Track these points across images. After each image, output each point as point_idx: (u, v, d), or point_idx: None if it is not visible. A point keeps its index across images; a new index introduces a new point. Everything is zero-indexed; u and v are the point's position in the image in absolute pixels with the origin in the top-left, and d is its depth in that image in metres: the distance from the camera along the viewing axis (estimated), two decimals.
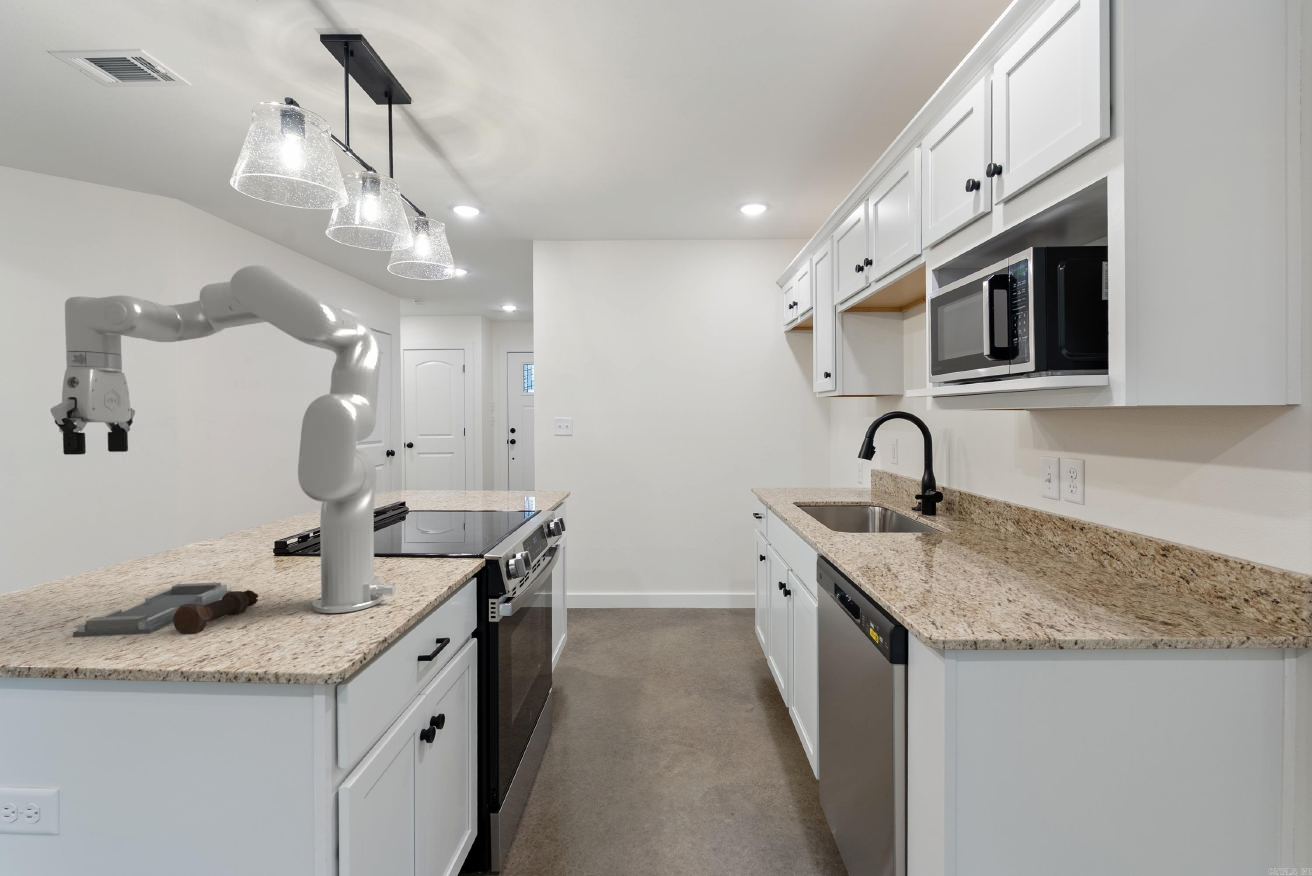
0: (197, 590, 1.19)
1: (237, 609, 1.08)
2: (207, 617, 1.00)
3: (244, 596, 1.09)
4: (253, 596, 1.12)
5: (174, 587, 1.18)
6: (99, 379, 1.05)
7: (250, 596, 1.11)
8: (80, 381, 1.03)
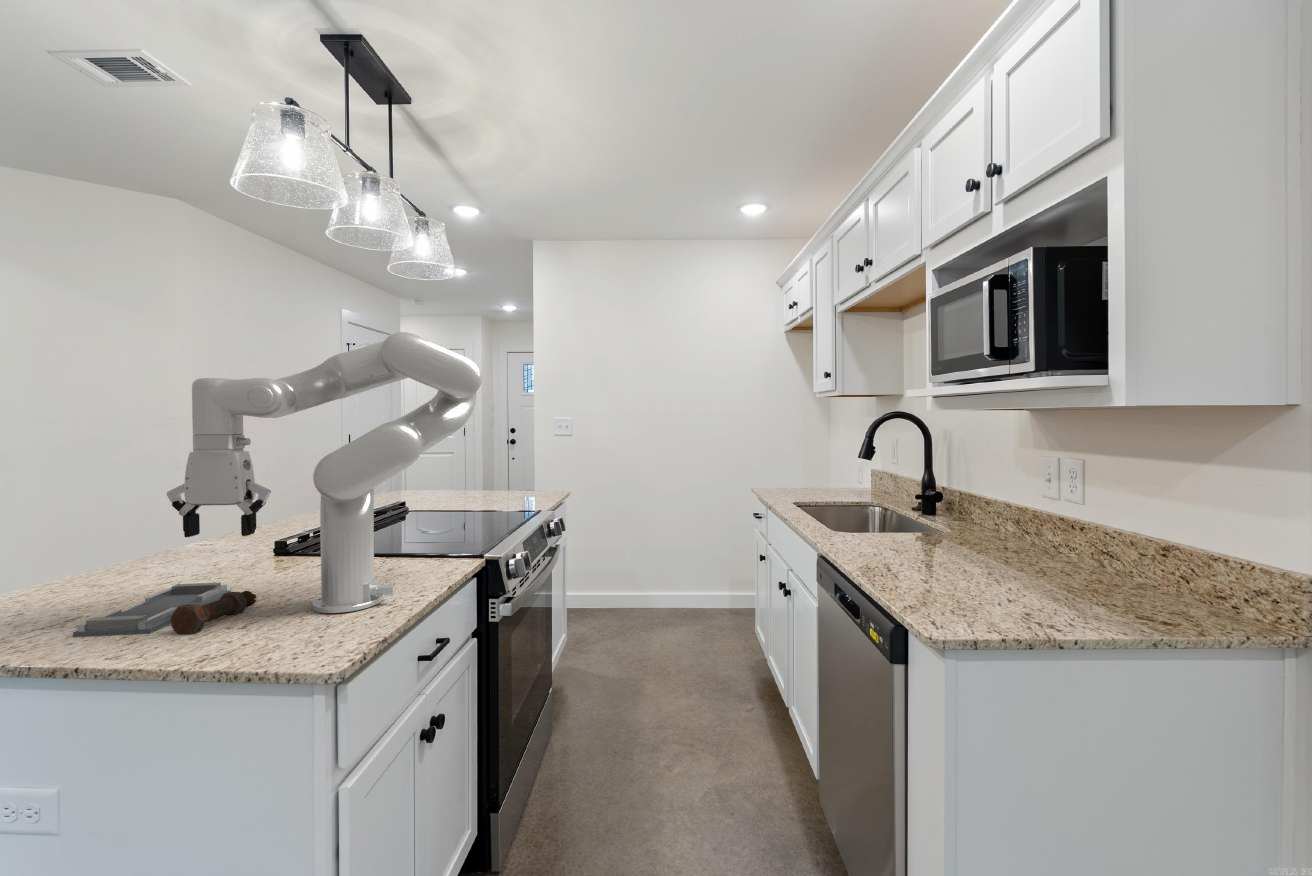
0: (197, 590, 1.19)
1: (235, 610, 1.08)
2: (205, 618, 0.99)
3: (242, 597, 1.09)
4: (251, 597, 1.12)
5: (174, 587, 1.18)
6: None
7: (248, 597, 1.11)
8: (250, 463, 1.07)
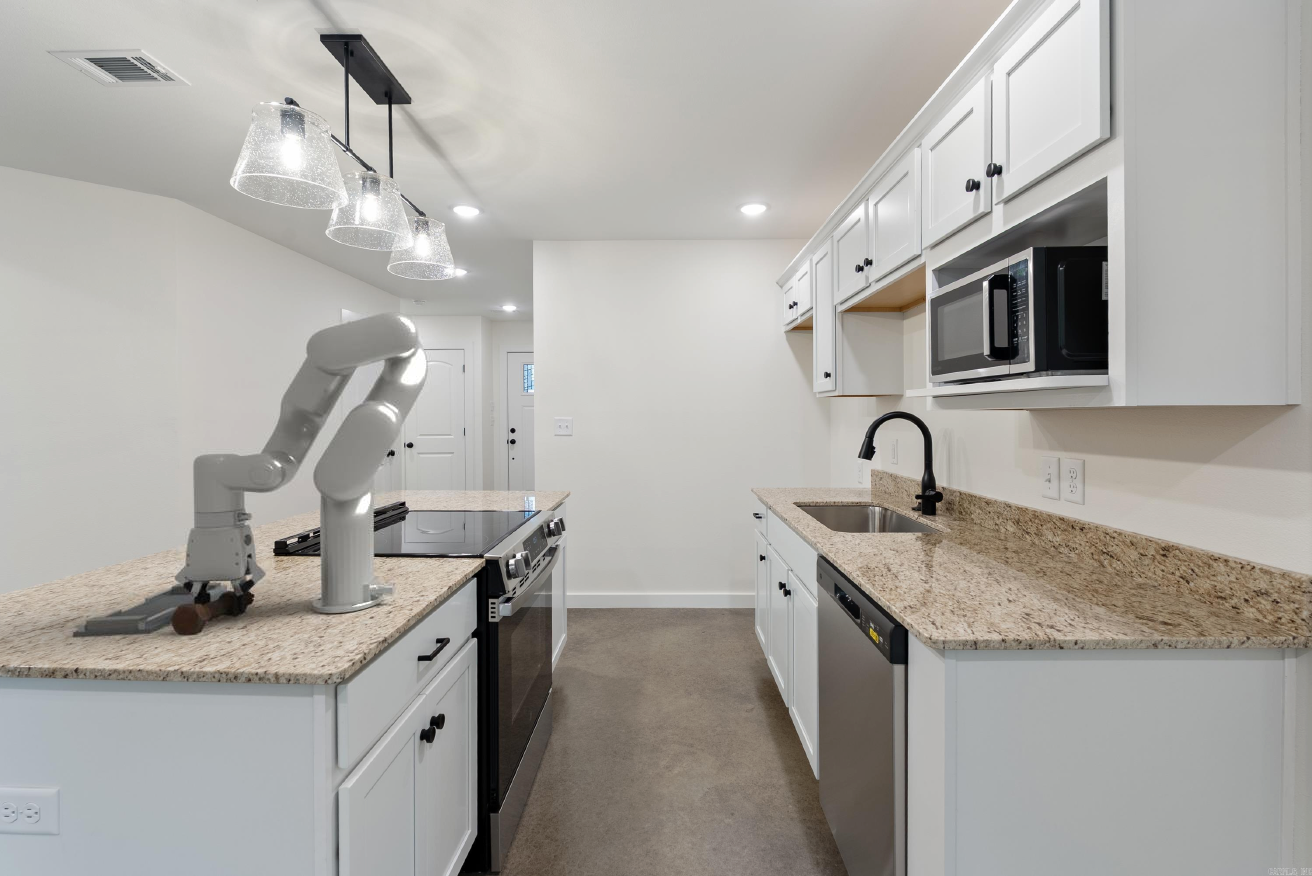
0: None
1: None
2: (206, 617, 0.99)
3: None
4: (250, 596, 1.11)
5: (174, 587, 1.18)
6: None
7: (247, 596, 1.11)
8: (251, 537, 1.07)
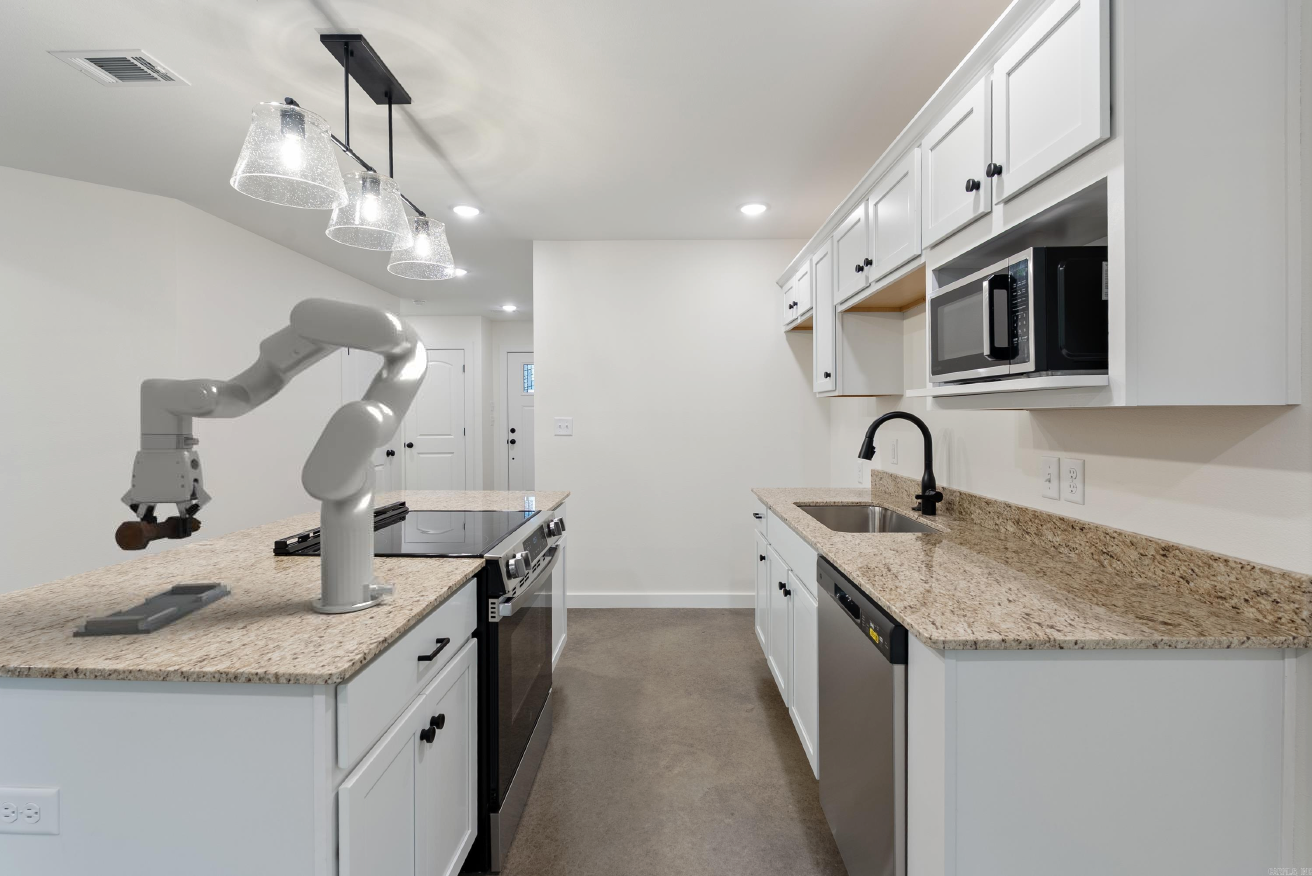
0: (197, 590, 1.19)
1: None
2: (151, 534, 1.01)
3: None
4: (196, 522, 1.14)
5: (174, 587, 1.18)
6: None
7: (193, 522, 1.13)
8: (198, 462, 1.10)
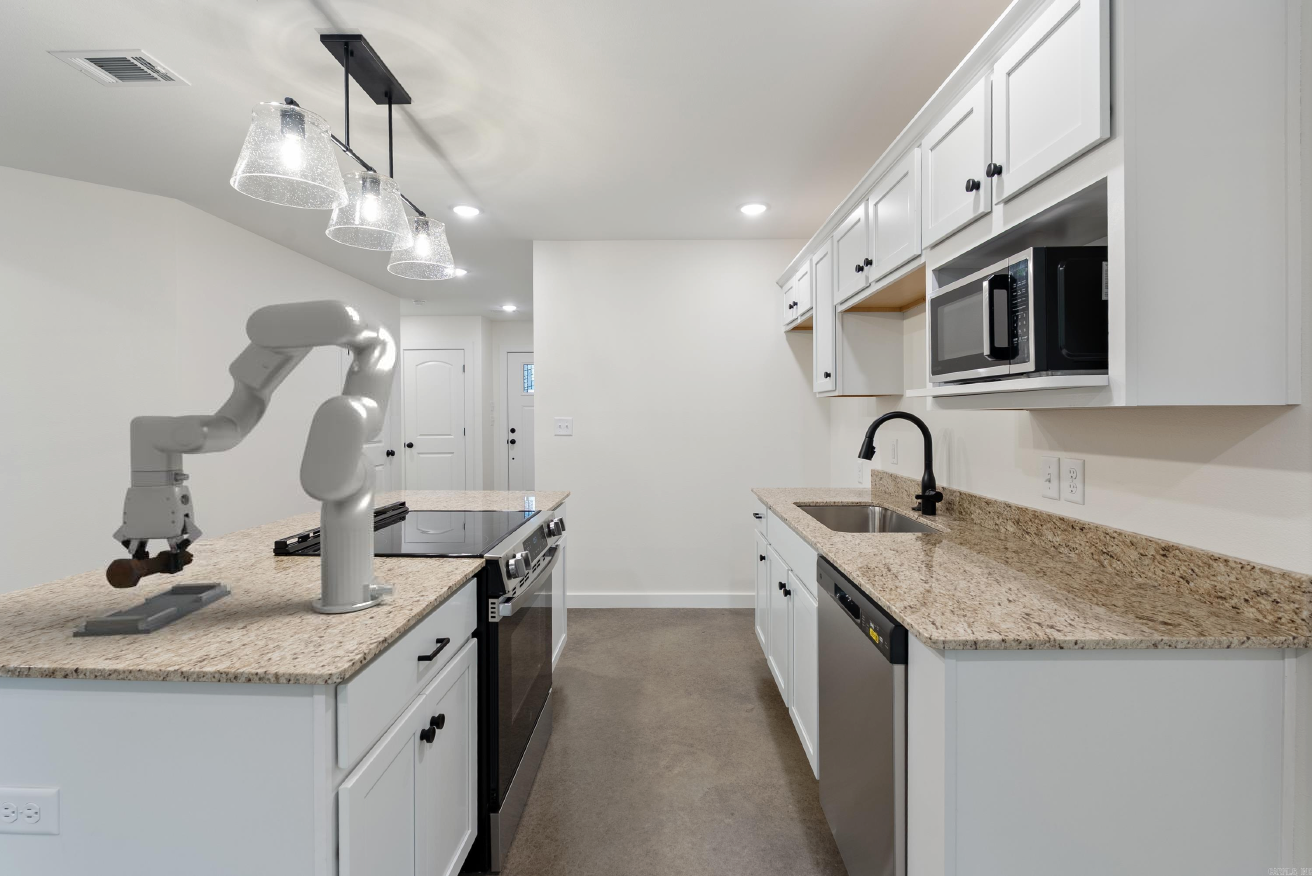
0: (197, 590, 1.19)
1: None
2: (142, 571, 1.02)
3: None
4: (188, 555, 1.14)
5: (174, 587, 1.18)
6: None
7: (185, 555, 1.14)
8: (189, 497, 1.10)
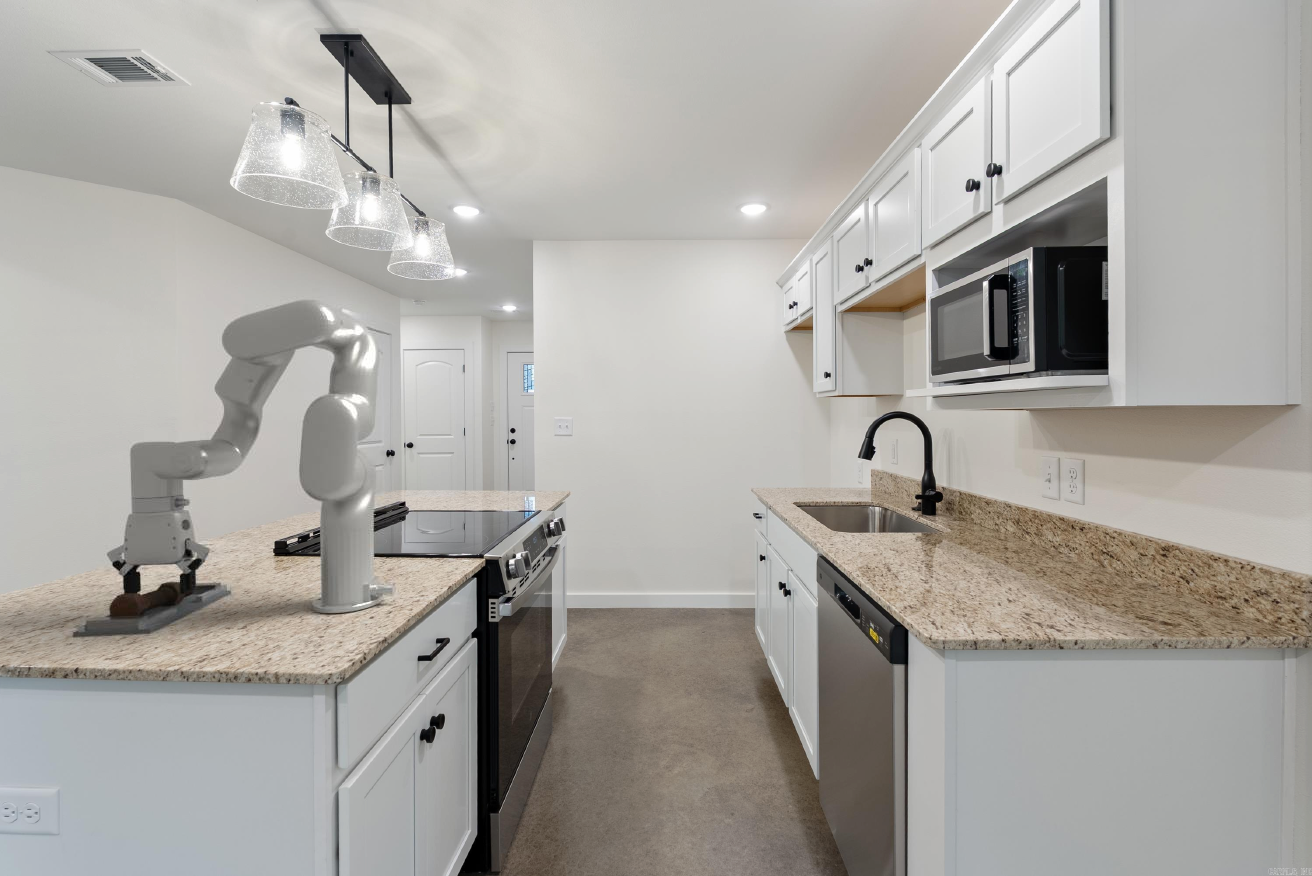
0: (197, 590, 1.19)
1: (174, 599, 1.11)
2: (146, 606, 1.02)
3: None
4: None
5: None
6: None
7: None
8: (190, 522, 1.11)
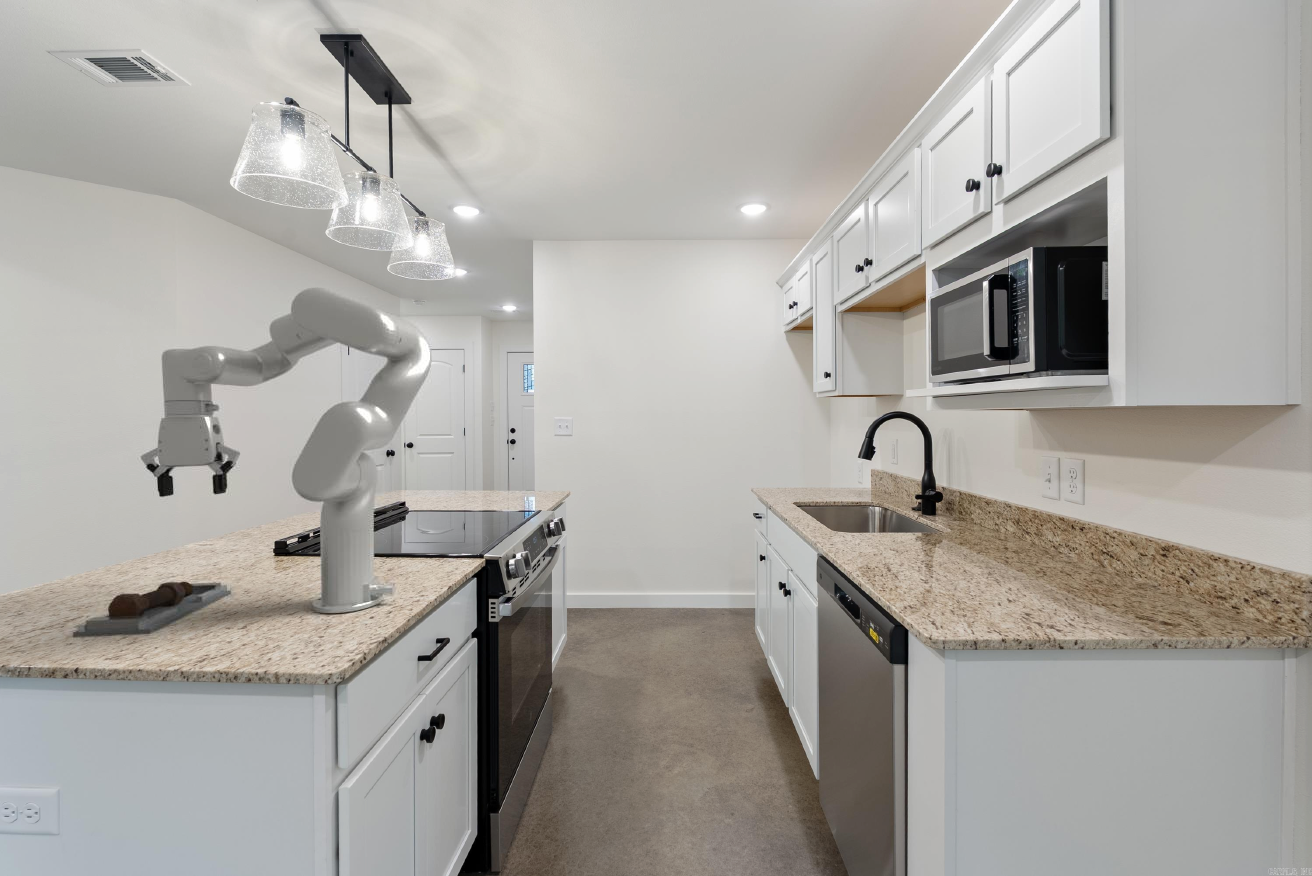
0: (197, 590, 1.19)
1: (173, 599, 1.10)
2: (144, 606, 1.02)
3: (180, 587, 1.12)
4: (189, 587, 1.15)
5: None
6: None
7: (186, 587, 1.14)
8: (219, 428, 1.16)
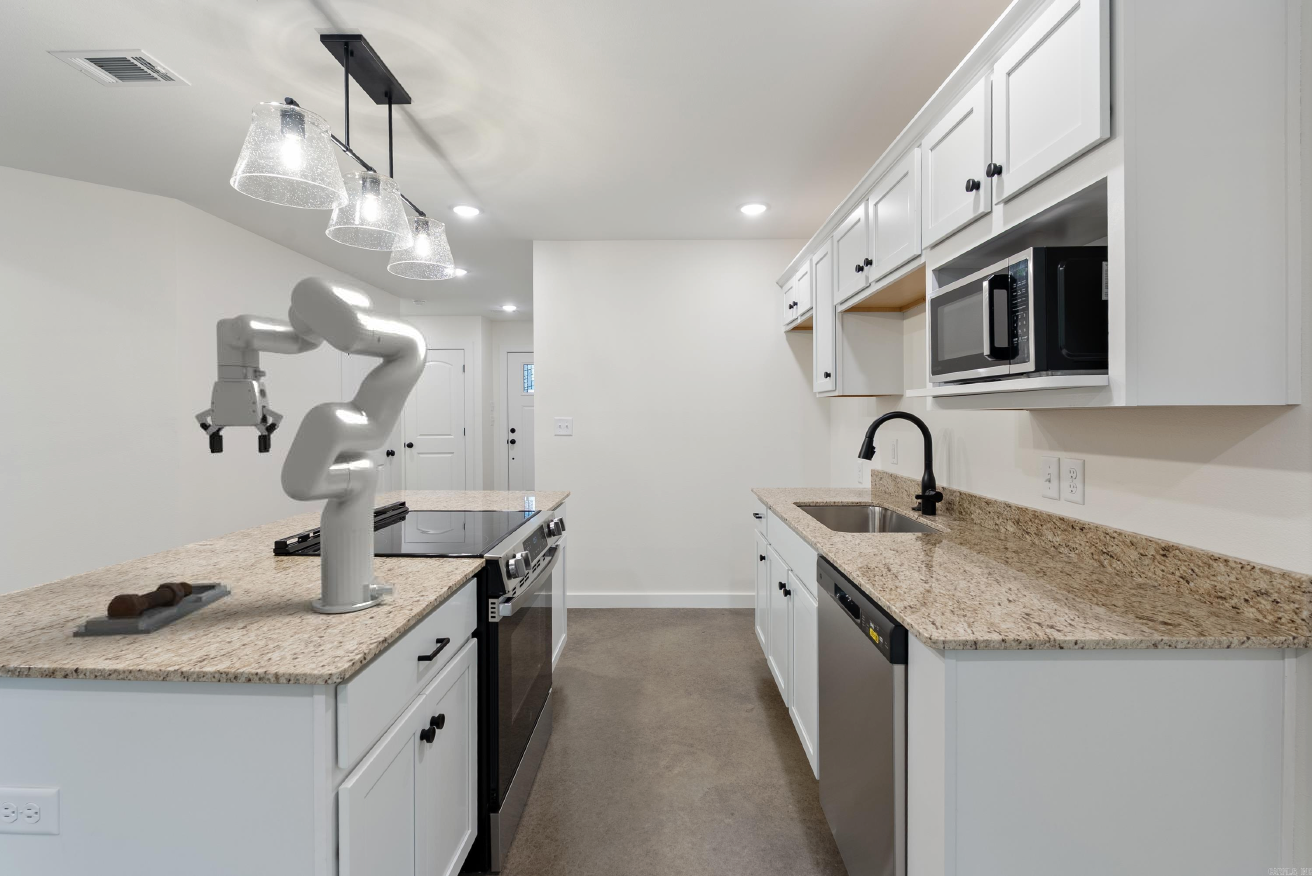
0: (197, 590, 1.19)
1: (172, 600, 1.10)
2: (144, 606, 1.02)
3: (179, 587, 1.12)
4: (188, 587, 1.14)
5: None
6: None
7: (185, 587, 1.14)
8: (265, 393, 1.27)
